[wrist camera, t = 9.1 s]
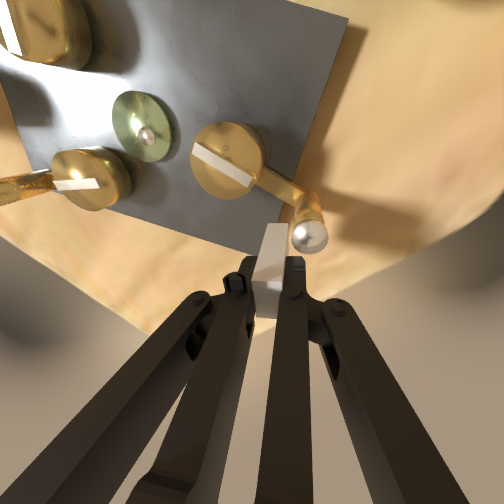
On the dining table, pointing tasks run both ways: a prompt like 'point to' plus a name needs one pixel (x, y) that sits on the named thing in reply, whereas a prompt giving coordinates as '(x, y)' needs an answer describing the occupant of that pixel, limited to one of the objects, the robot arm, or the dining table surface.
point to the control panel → (182, 101)
